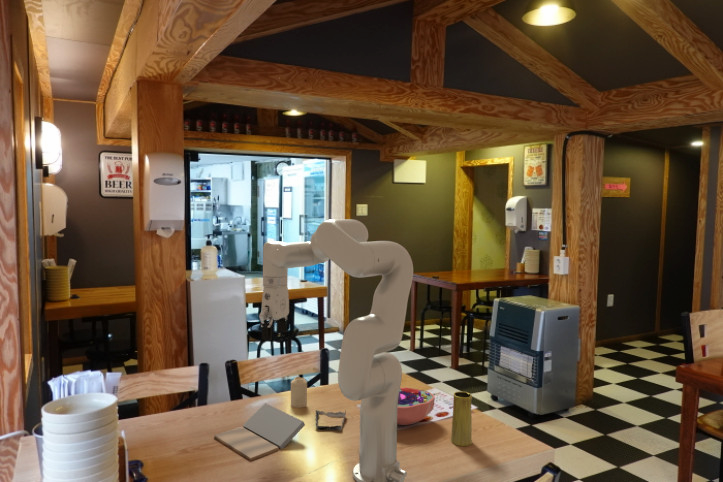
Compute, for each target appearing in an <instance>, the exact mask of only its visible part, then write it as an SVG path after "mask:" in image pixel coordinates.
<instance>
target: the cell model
mask: <svg viewBox="0 0 723 482" xmlns="http://www.w3.org/2000/svg"><path fill="white" fill-rule="evenodd" d="M435 399H436V397H435V395H434V394H433V393H431V392H430V391H427V390H424V389H418V388H417V389H416V388H412V387H400V390H399V396H398V411H397V425H399V426H408V425H412V424H413V425H414V424H416V423H417V422H420V421H422V420H424V419H425V418H426V417H427V416H428V415H429V414H431V412H432V411H433V409H434V407H435Z"/></svg>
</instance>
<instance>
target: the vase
mask: <svg viewBox="0 0 723 482" xmlns="http://www.w3.org/2000/svg"><path fill="white" fill-rule="evenodd" d="M472 398H473V397H472V394H471V393H470V392H467V391H461V390H460V391H456V392H453V401H452V402H453V403H452V405H453V406H452V421H451V435H450V441H451V443H452V444H454V445H455V446H459V447H468V446H471V445H472V444H473V441H472V440H473V439H472V429H473V428H472V426H473V425H472V424H473V422H472V420H473V419H472Z"/></svg>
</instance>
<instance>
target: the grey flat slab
mask: <svg viewBox="0 0 723 482" xmlns="http://www.w3.org/2000/svg"><path fill="white" fill-rule="evenodd" d="M305 426H306V423H305V421H303V420H301V419H299V418H297V417H295V416H293V415H291V414H290V413H287V412H285V411H282V410H280V409H278V408H276V407H274V406H272V405H270V404H268V403H266V402H265V403H264V404H263V405H261V407H260V408H259V409H258V410H257V411H255V412H254V413H253V415H252V416H250V418H249V419H248V420H247V421H245V423H243V424H242V427H243V428H245V429H247V430H248V431H250V432H252V433H254V434H256V435H257V436H259V437H261V438H263V439H264V440H266V441H268V442H270V443H272V444H273V445H275V446H277V447H278V449H281V450H282V449H284V448H286V446H287V445H288V444H289V443H290V442H291V441H292V440H293V439H294V438H295V437H296V435H297V434H298V433H299V432H300V431H301V430H302V429H303V428H304V427H305Z"/></svg>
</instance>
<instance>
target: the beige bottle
mask: <svg viewBox="0 0 723 482" xmlns="http://www.w3.org/2000/svg"><path fill="white" fill-rule="evenodd" d="M307 403H308V381H307V380H306V378H305V377H300V376H296V377H295V378H294V379H292V380H291V381H290V406H291V407H293V408H297V409H298V408H303V407H305V408H307V406H308V404H307Z"/></svg>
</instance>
